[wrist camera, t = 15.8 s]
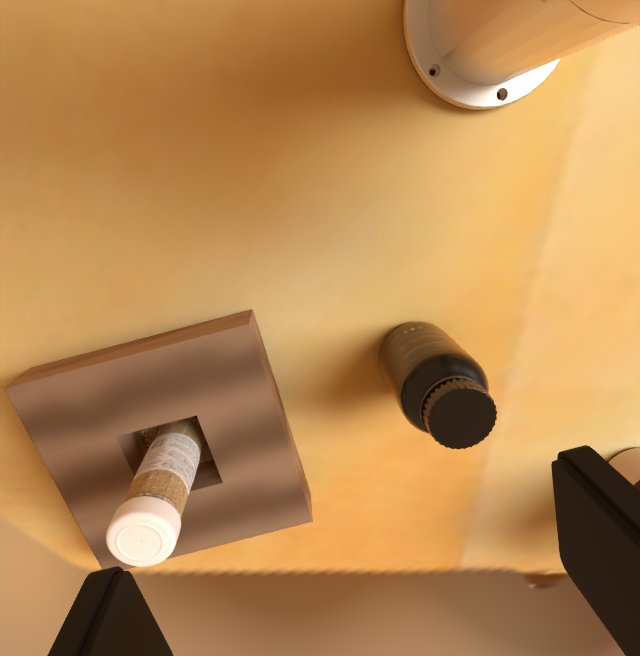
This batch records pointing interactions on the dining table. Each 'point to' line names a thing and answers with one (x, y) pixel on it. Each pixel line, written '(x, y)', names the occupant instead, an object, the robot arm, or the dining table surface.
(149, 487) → the sprinkles bottle
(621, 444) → the dining table surface
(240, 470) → the walnut holder
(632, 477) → the coffee cup
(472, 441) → the supplement bottle
